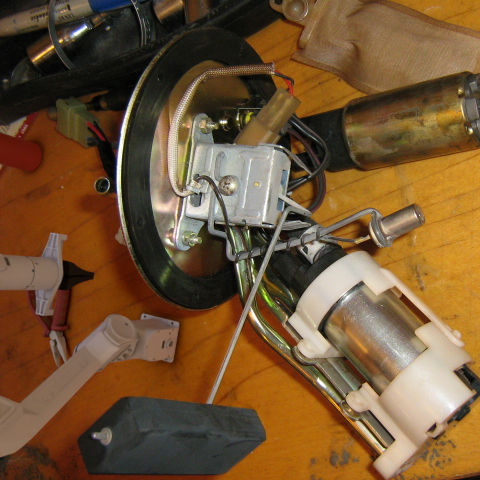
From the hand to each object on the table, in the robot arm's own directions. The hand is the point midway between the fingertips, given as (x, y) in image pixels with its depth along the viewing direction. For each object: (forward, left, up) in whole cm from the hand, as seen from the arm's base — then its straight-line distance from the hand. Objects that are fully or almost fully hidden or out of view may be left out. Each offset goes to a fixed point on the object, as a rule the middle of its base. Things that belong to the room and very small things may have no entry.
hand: (90, 275), depth 89 cm
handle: (+1, -7, -7) cm, 10 cm away
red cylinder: (+35, -24, -8) cm, 43 cm away
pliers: (+18, +12, -9) cm, 23 cm away
